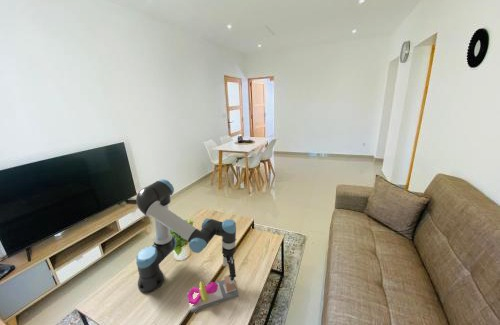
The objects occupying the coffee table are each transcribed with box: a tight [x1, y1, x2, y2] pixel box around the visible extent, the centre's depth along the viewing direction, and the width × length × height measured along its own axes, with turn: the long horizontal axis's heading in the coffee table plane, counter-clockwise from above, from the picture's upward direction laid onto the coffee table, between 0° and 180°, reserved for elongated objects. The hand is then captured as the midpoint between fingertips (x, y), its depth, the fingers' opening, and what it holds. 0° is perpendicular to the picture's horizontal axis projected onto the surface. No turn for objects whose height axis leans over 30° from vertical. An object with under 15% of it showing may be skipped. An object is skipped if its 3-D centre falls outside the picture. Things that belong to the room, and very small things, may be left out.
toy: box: [187, 280, 218, 305], centre depth 123 cm, size 10×18×10 cm
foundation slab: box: [187, 279, 240, 313], centre depth 128 cm, size 28×13×2 cm, turn 112°
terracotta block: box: [223, 274, 236, 292], centre depth 130 cm, size 5×5×7 cm
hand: (228, 273), depth 128 cm, fingers open, 13 cm apart
